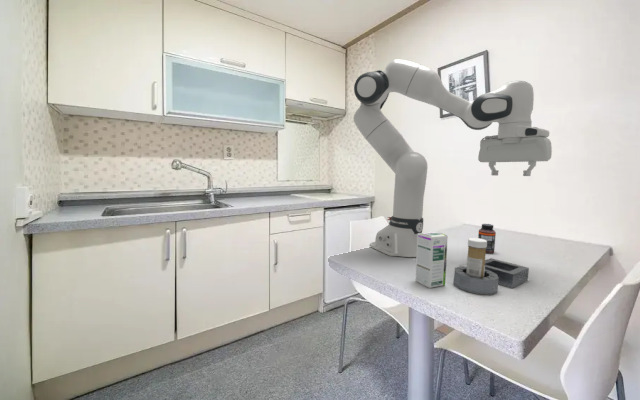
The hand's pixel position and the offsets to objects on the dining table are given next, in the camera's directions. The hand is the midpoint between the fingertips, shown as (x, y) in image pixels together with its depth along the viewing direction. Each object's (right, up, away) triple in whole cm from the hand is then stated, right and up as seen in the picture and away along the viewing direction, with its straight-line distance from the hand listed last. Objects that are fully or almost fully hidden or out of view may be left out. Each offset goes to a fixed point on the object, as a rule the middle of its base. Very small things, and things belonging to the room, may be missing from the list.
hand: (510, 175), depth 91 cm
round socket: (-20, -32, -14) cm, 41 cm away
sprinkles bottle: (-20, -33, -14) cm, 41 cm away
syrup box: (-32, -32, -13) cm, 47 cm away
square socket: (-9, -32, -8) cm, 34 cm away
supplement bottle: (+4, -30, +21) cm, 36 cm away
